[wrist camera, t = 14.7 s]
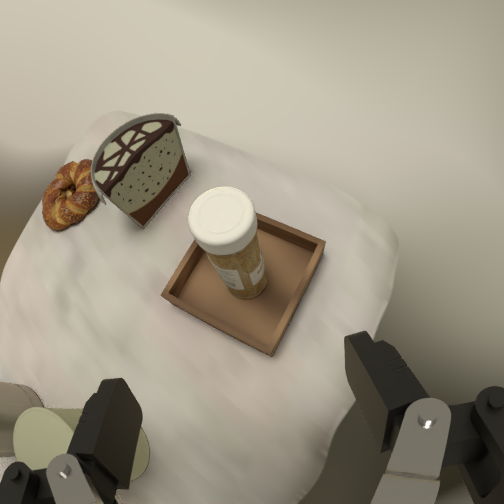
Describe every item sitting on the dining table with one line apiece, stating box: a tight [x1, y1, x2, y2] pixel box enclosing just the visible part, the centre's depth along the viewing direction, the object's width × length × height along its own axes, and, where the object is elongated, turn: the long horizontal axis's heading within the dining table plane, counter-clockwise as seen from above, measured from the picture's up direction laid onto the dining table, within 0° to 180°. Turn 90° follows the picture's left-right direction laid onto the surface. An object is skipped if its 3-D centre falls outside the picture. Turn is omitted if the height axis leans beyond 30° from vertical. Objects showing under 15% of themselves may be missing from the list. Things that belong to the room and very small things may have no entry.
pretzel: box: [42, 159, 99, 230], centre depth 40 cm, size 12×11×4 cm
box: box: [161, 213, 326, 357], centre depth 32 cm, size 12×12×3 cm
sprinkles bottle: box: [188, 187, 268, 299], centre depth 27 cm, size 5×5×13 cm
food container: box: [91, 113, 191, 229], centre depth 35 cm, size 12×6×10 cm, turn 145°
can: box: [13, 407, 149, 481], centre depth 22 cm, size 9×9×12 cm
